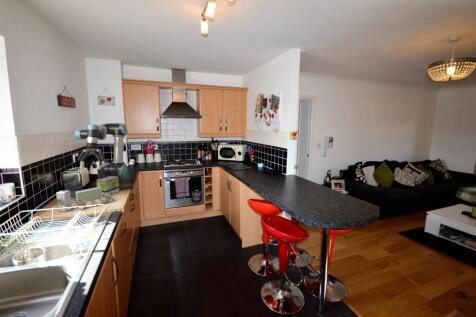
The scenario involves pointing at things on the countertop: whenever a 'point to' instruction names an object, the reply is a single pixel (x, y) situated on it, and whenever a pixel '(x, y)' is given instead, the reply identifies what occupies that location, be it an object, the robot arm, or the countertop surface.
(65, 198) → the syrup box
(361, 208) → the countertop surface
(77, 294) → the countertop surface
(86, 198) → the pale green block
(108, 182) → the tea box
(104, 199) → the cradle
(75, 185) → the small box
